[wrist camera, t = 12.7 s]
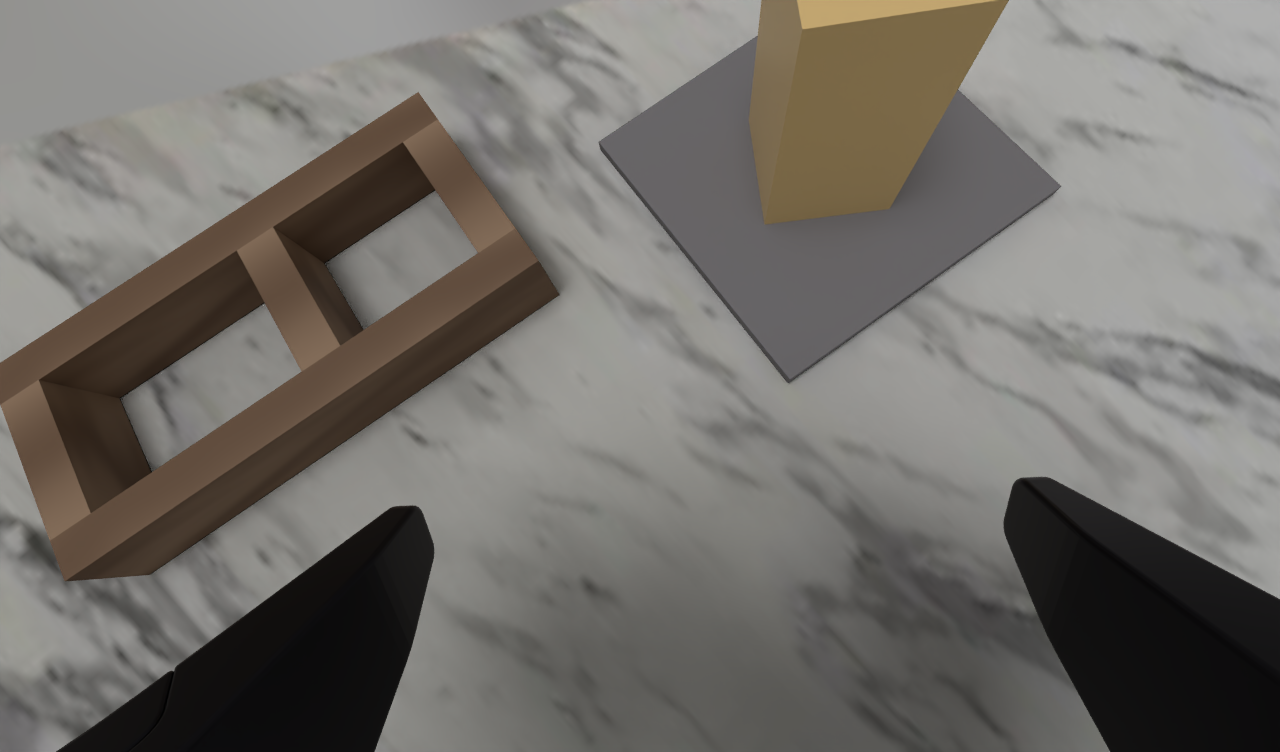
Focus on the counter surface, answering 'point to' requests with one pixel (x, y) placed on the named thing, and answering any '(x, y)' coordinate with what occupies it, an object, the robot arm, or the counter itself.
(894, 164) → the ochre plug
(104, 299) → the brown divided frame
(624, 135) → the charcoal mat
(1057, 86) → the counter surface
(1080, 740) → the counter surface
